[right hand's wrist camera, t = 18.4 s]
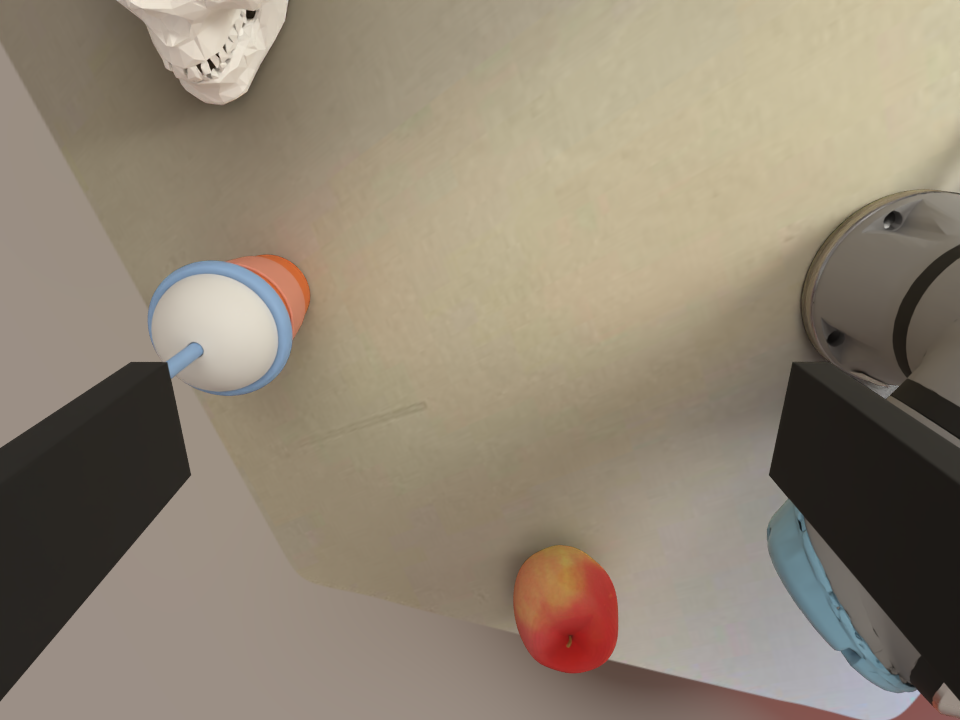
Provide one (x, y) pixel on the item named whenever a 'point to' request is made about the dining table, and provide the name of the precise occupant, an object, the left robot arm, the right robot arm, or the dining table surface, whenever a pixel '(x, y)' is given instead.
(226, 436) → the dining table surface
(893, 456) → the right robot arm
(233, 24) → the skull
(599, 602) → the apple
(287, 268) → the cup with straw
